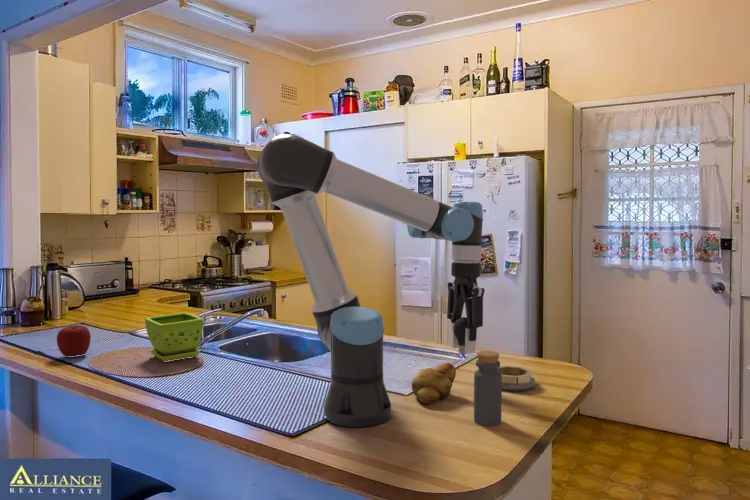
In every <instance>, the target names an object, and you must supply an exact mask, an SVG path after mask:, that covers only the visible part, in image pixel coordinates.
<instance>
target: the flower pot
mask: <svg viewBox="0 0 750 500" xmlns="http://www.w3.org/2000/svg"><path fill="white" fill-rule="evenodd" d="M144 322H145V328H146V333H147V336H148V339H149V342H150V343H151V346H152V347H153V348H152V349H150V350H149V352H150V354H151V355H152V354H153V355H154V356H153V355H152V356H153V357H155V356H156V357H157V358H156V357H155V358H156V359H158V358H159V359H158V360H160V359H161V360H162V361H161V360H160V361H161V362H163V361H168V360H174V359H181V358H187V357H193V356H196V357H197V356H199V354H200V353H201V350H200V349H198V348H197V347H198V346H199V343H200V341H201V338H202V334H203V328H204V319H203V318H202V317H200V316H198V315H196V314H192V313H191V312H190V313H189V312H178V313H171V314H162V315H156V316H150V317H145V318H144Z"/></svg>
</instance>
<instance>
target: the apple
mask: <svg viewBox="0 0 750 500" xmlns="http://www.w3.org/2000/svg"><path fill="white" fill-rule="evenodd" d="M91 336H92V335H91V332H90V329H89V328H88V327H86V326H85V325H80V324H79V325H77V324H76V325H69V326H65V327H63V328H61V329H59V331H58V332H57V335H56V343H57V347H58V350H59V351H60V354H62V355H63V356H64V355H65V356H76V355H82V354H84V355H85V354H86V353H87V352H88V350H89V347H90V344H91ZM65 356H64V357H65Z"/></svg>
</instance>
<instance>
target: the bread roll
mask: <svg viewBox="0 0 750 500" xmlns="http://www.w3.org/2000/svg"><path fill="white" fill-rule="evenodd" d="M456 375H457V370H456V367H455V366H454V365H453V364H452V363H449V362H446V363H442V364H439V365H437V366H436V367H434V368H432V367H431V368H430V367H427V368H424V369H420V370H419V371H418V373H417V374H416V375H415V376H414V378H413V379H412V381H411V390H412V392H413V394H414V396H415V397H417V398H418V400H419V402H421V403H424V404H434V403H437V402H438V401H439V400H442V399H446V398H448V396H449V395H450V393H451V391H452V387H453V383H454V382H455V378H456Z"/></svg>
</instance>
